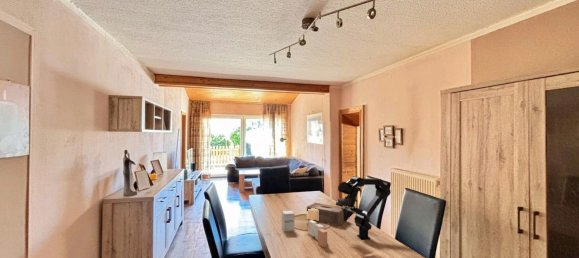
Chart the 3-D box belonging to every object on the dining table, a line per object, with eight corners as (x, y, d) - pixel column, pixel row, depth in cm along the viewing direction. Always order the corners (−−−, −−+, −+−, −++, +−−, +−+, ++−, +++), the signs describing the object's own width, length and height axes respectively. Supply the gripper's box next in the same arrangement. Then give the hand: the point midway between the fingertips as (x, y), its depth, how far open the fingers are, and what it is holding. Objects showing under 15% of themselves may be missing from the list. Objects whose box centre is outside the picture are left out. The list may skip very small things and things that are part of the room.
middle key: (319, 237, 166) (319, 223, 166) (323, 240, 161) (323, 226, 162) (315, 238, 164) (315, 224, 165) (319, 241, 160) (319, 227, 160)
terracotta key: (322, 243, 157) (322, 228, 157) (327, 246, 153) (327, 231, 153) (317, 244, 156) (318, 229, 156) (322, 247, 151) (322, 232, 151)
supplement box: (283, 233, 175) (283, 213, 175) (281, 229, 182) (281, 210, 183) (294, 232, 177) (294, 213, 177) (291, 228, 184) (292, 210, 184)
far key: (312, 233, 173) (312, 220, 173) (316, 235, 168) (316, 222, 169) (308, 233, 171) (308, 220, 172) (312, 236, 167) (312, 223, 167)
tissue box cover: (306, 219, 204) (306, 206, 204) (315, 215, 216) (315, 202, 216) (338, 226, 190) (338, 212, 190) (345, 220, 202) (345, 207, 202)
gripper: (333, 189, 170) (325, 214, 167) (352, 196, 153) (344, 222, 150) (345, 194, 174) (338, 218, 172) (366, 201, 158) (358, 227, 155)
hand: (344, 221), depth 162 cm, fingers closed
